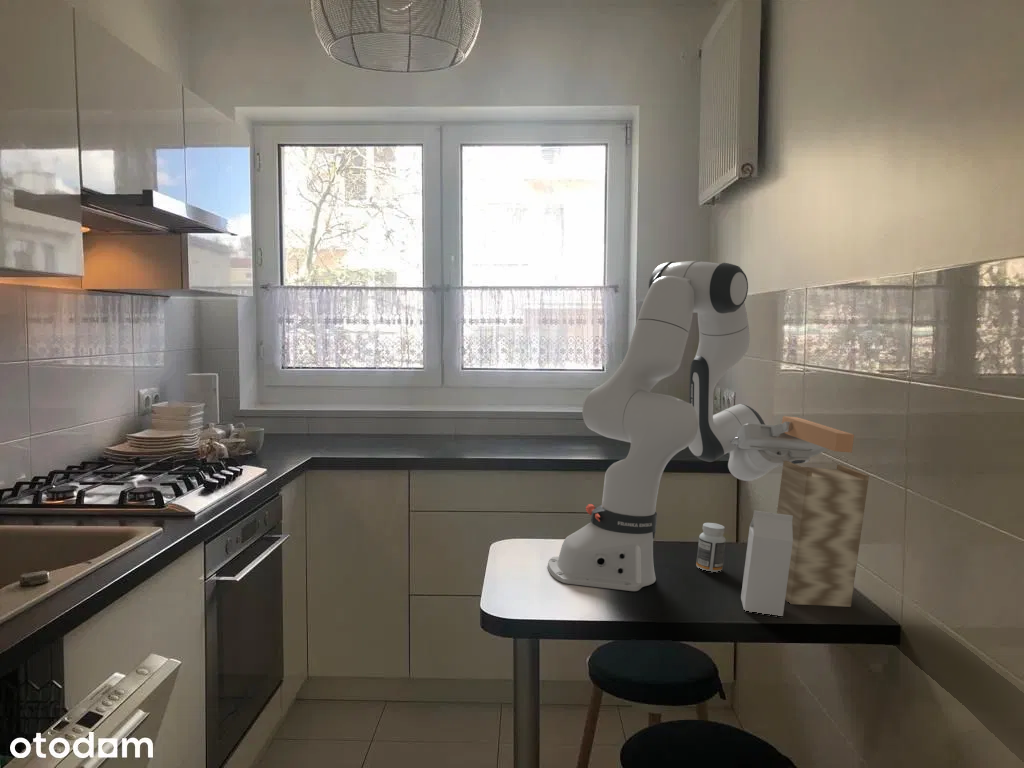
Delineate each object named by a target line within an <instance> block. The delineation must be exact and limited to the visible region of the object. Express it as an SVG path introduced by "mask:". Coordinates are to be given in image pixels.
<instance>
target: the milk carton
mask: <svg viewBox="0 0 1024 768" xmlns="http://www.w3.org/2000/svg"><path fill="white" fill-rule="evenodd" d="M792 518H793V516H792V515H784V514H777V512H769V511H768V512H767V511H761V510H753V517H752V518H751V522H750V524H749V529H748V530H749V531H748V538H747V545H746V553H745V563H744V569H743V578H742V588H741V592H740V593H741V594H740V600H741V604H742V607H743V611H744V610H745V611H744V612H746V611H749V612H748V613H752V612H757V613H756V614H758V613H762V614H761V615H764V614H770V615H771V614H772V615H778V616H783V617H784V611H785V605H786V604H785V603H786V600H785V597H786V589H787V582H788V574H789V566H790V559H791V551H792V544H793V531H792ZM770 615H769V616H770Z"/></svg>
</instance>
